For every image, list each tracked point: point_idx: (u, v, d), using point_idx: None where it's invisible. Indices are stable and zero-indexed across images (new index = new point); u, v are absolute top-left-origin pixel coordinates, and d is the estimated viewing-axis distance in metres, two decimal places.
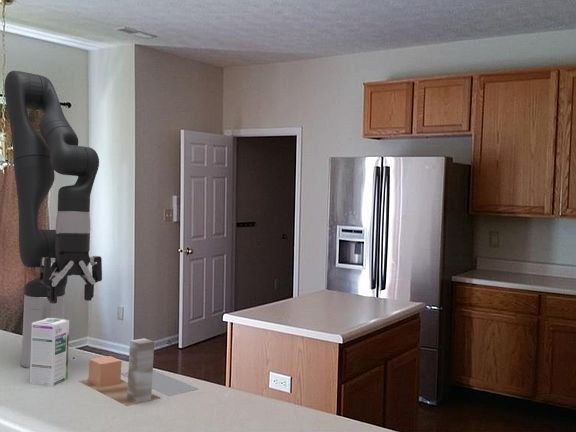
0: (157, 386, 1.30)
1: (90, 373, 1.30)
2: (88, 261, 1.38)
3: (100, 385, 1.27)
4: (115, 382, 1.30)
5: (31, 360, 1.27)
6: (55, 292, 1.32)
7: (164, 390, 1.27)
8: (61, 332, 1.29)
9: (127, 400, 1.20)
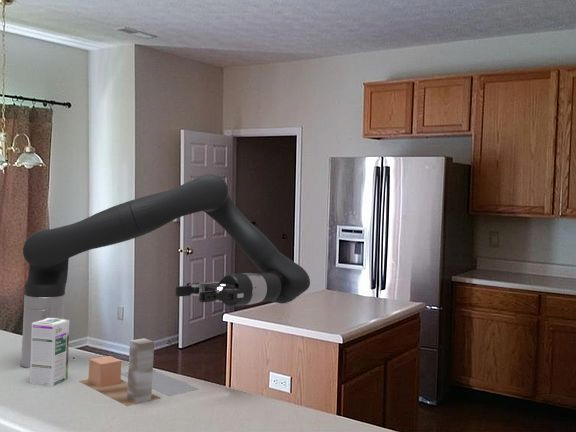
0: (157, 386, 1.30)
1: (90, 373, 1.30)
2: None
3: (100, 385, 1.27)
4: (115, 382, 1.30)
5: (31, 360, 1.27)
6: (209, 301, 1.28)
7: (164, 390, 1.27)
8: (61, 332, 1.29)
9: (127, 400, 1.20)
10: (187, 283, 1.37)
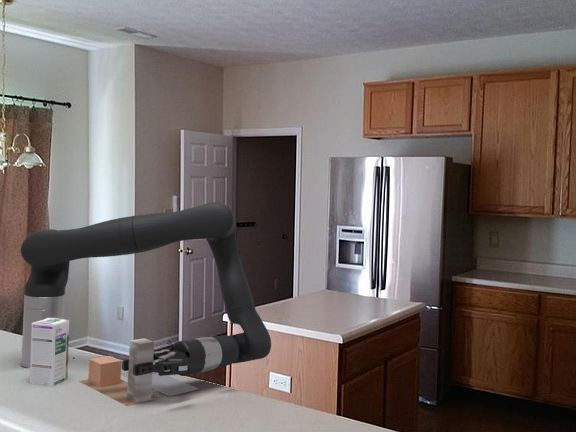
0: (157, 386, 1.30)
1: (90, 373, 1.30)
2: None
3: (100, 385, 1.27)
4: (115, 382, 1.30)
5: (31, 360, 1.27)
6: None
7: (164, 390, 1.27)
8: (61, 332, 1.29)
9: (127, 400, 1.20)
10: None
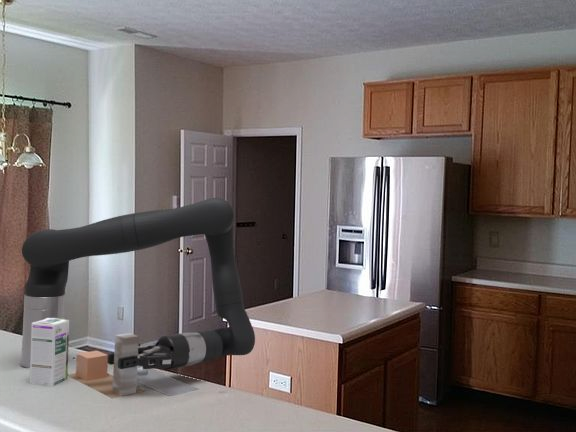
0: (157, 386, 1.30)
1: (78, 367, 1.34)
2: None
3: (87, 379, 1.31)
4: (102, 376, 1.34)
5: (31, 360, 1.27)
6: None
7: (164, 390, 1.27)
8: (61, 332, 1.29)
9: (112, 393, 1.24)
10: None
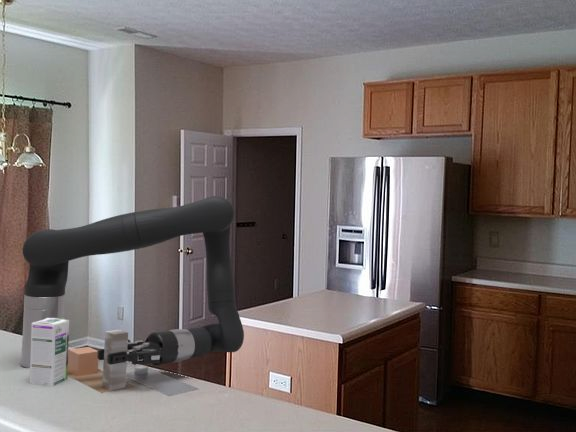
0: (157, 386, 1.30)
1: (69, 363, 1.37)
2: None
3: (78, 374, 1.34)
4: (93, 371, 1.37)
5: (31, 360, 1.27)
6: None
7: (164, 390, 1.27)
8: (61, 332, 1.29)
9: (102, 388, 1.27)
10: None
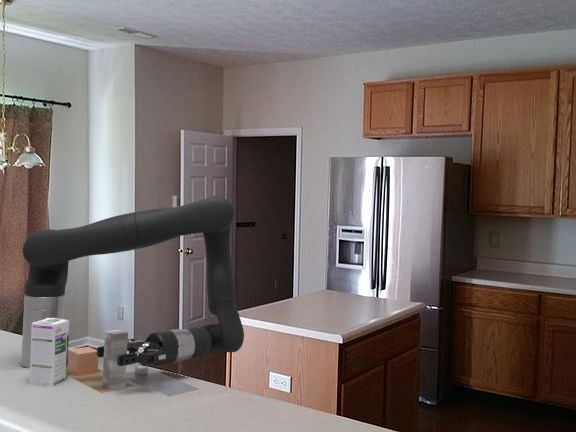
0: (157, 386, 1.30)
1: (69, 363, 1.37)
2: None
3: (78, 374, 1.34)
4: (92, 371, 1.37)
5: (31, 360, 1.27)
6: None
7: (164, 390, 1.27)
8: (61, 332, 1.29)
9: (102, 388, 1.27)
10: None
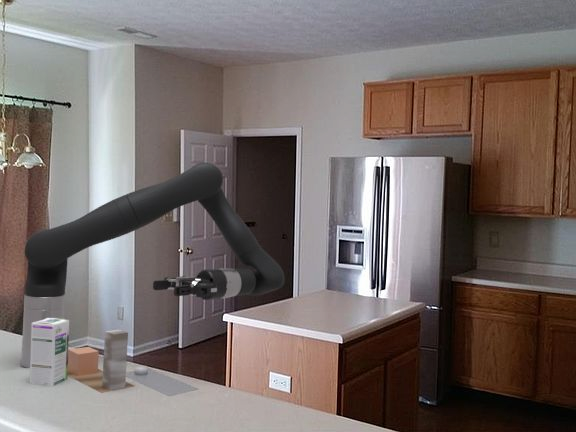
0: (157, 386, 1.30)
1: (69, 363, 1.37)
2: None
3: (78, 374, 1.34)
4: (92, 371, 1.37)
5: (31, 360, 1.27)
6: (183, 295, 1.35)
7: (164, 390, 1.27)
8: (61, 332, 1.29)
9: (102, 388, 1.27)
10: None
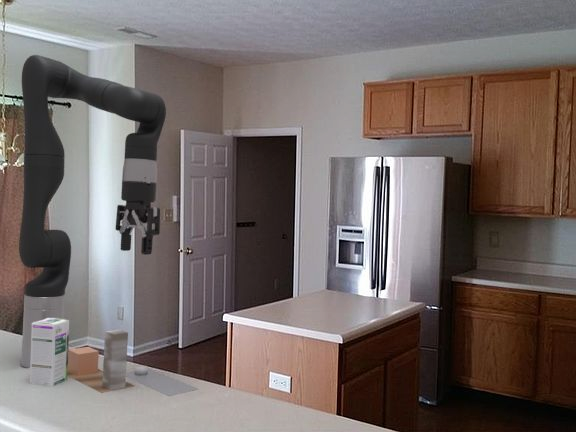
0: (157, 386, 1.30)
1: (69, 363, 1.37)
2: None
3: (78, 374, 1.34)
4: (92, 371, 1.37)
5: (31, 360, 1.27)
6: None
7: (164, 390, 1.27)
8: (61, 332, 1.29)
9: (102, 388, 1.27)
10: (116, 228, 1.36)
